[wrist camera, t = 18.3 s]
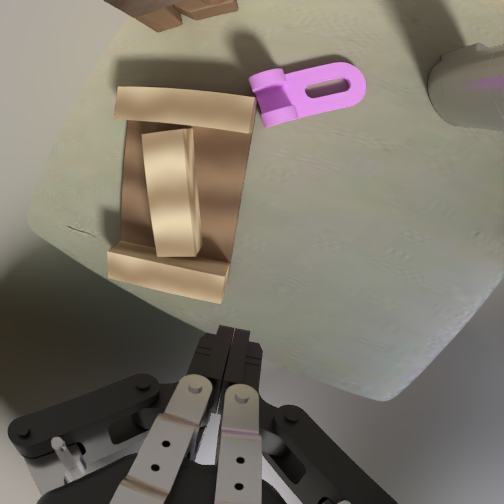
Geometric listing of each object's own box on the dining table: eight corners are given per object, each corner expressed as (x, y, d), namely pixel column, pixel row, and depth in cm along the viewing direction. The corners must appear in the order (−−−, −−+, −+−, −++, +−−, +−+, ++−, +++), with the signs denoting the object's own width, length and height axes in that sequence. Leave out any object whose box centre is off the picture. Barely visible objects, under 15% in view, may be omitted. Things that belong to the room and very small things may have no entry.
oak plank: (154, 132, 36) (141, 134, 33) (192, 128, 36) (182, 128, 32) (167, 245, 42) (157, 256, 38) (203, 244, 42) (195, 256, 38)
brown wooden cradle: (136, 89, 35) (118, 86, 31) (258, 101, 35) (254, 97, 30) (123, 262, 45) (108, 277, 40) (227, 285, 45) (220, 304, 40)
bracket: (266, 127, 36) (263, 127, 30) (253, 85, 34) (246, 76, 28) (368, 102, 34) (385, 98, 27) (355, 60, 32) (369, 48, 25)
